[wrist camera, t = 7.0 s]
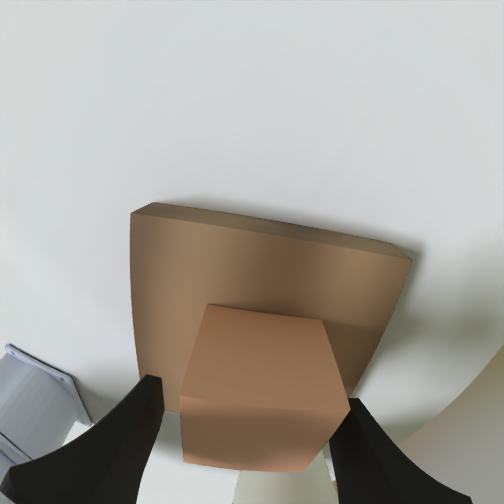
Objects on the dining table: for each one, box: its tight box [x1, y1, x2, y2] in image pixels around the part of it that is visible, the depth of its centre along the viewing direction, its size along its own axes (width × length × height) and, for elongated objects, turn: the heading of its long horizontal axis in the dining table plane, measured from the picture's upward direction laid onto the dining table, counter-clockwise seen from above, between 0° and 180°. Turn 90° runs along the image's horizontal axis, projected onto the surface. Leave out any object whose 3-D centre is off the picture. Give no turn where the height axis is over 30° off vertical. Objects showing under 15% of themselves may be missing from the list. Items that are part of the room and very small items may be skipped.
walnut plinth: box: [130, 202, 412, 413], centre depth 14 cm, size 12×12×3 cm
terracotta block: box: [179, 304, 350, 472], centre depth 10 cm, size 5×5×5 cm
